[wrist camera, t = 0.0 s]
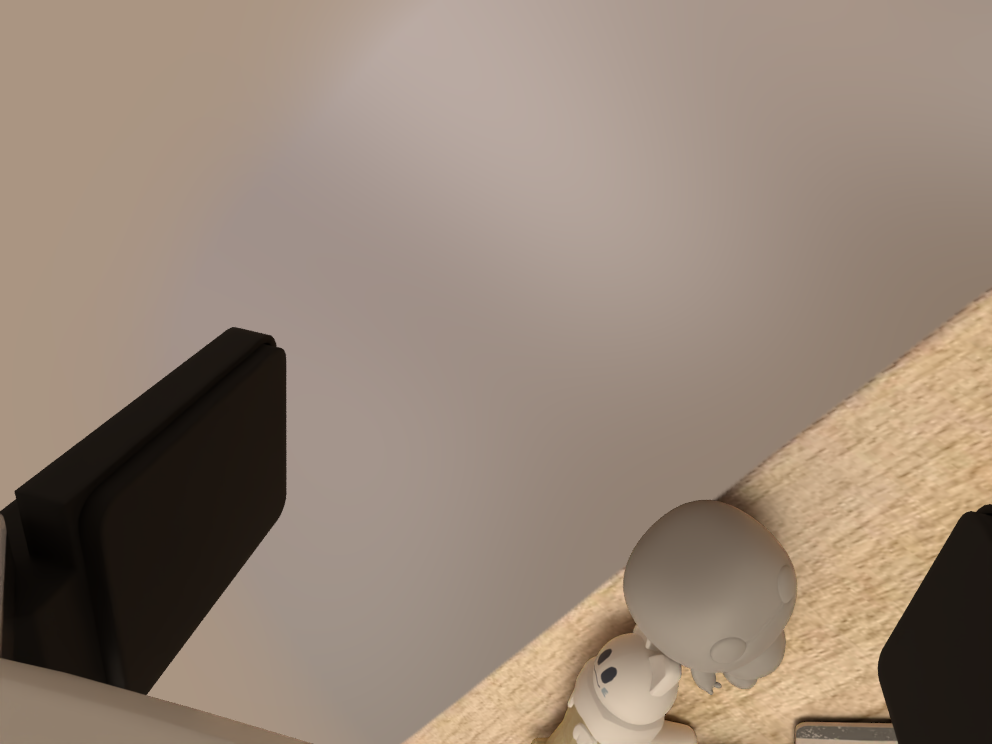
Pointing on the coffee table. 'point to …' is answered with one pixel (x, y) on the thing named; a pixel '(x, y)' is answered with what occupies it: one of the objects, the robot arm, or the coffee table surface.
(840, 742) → the token
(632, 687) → the rabbit figurine
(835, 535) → the coffee table surface
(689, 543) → the figurine
